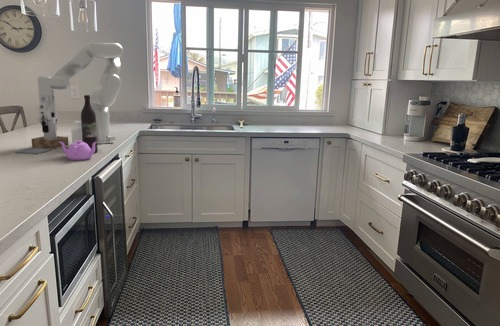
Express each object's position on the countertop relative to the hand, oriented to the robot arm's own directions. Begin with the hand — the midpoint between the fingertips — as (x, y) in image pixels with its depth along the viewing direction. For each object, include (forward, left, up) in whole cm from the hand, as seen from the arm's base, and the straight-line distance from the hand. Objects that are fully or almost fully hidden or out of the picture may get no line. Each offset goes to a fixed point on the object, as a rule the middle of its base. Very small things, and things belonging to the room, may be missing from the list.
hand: (49, 131), depth 203 cm
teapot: (-31, +25, -9) cm, 41 cm away
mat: (-1, +15, -9) cm, 17 cm away
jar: (-19, -1, -9) cm, 21 cm away
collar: (0, 0, -9) cm, 9 cm away
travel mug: (0, 0, -9) cm, 9 cm away
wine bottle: (-29, +10, -9) cm, 32 cm away
